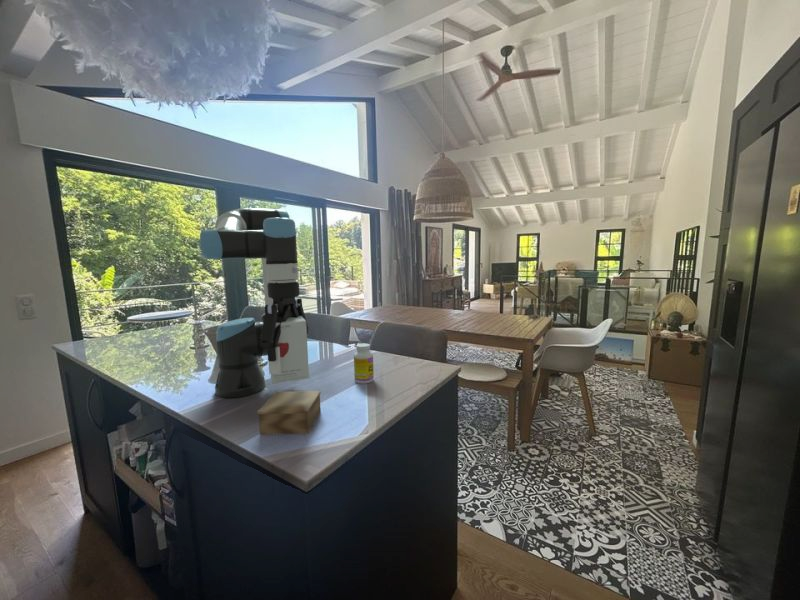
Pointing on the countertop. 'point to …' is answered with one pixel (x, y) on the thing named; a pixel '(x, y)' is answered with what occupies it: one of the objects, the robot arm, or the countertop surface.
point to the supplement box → (292, 351)
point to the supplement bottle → (363, 364)
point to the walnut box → (290, 412)
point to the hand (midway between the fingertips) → (288, 365)
